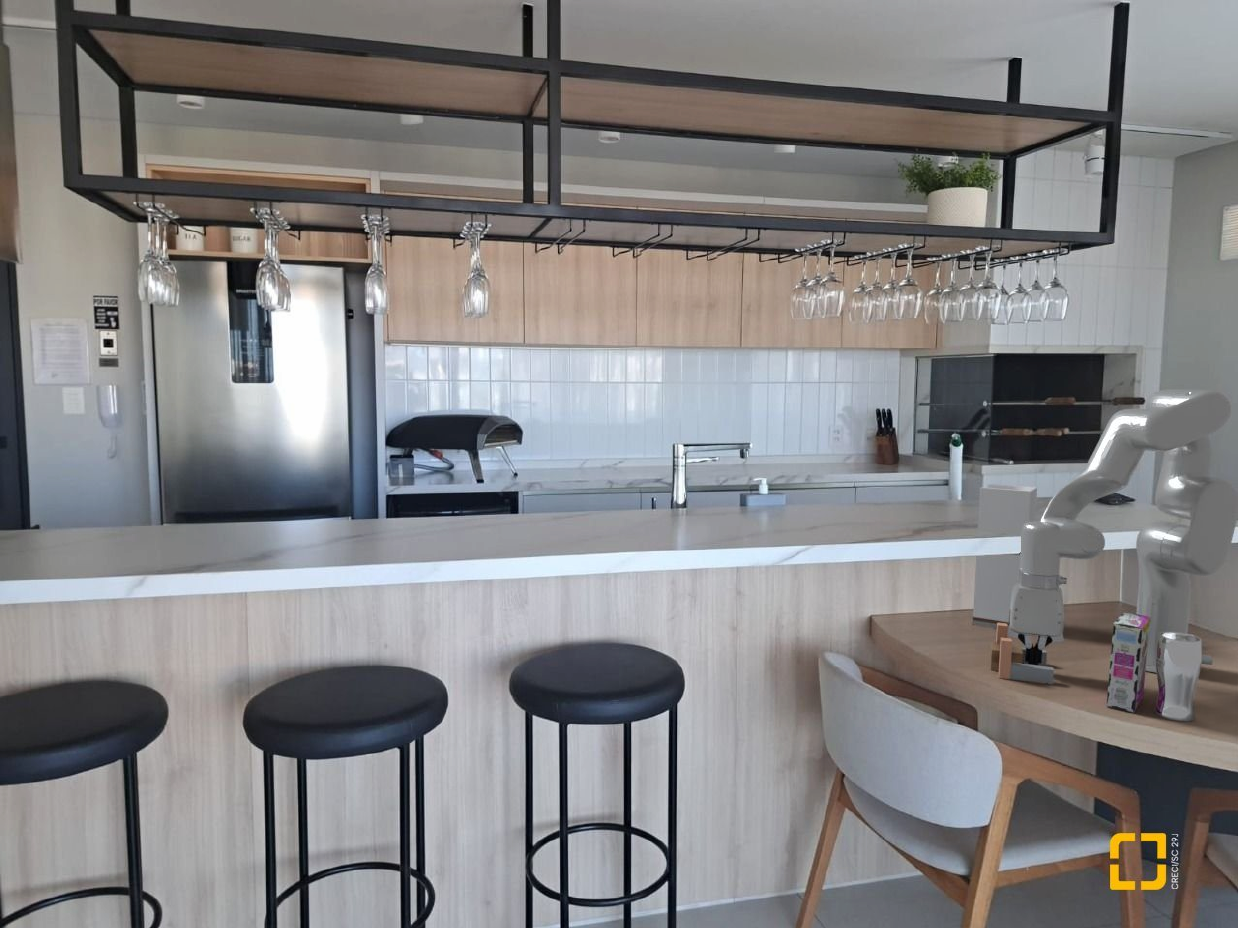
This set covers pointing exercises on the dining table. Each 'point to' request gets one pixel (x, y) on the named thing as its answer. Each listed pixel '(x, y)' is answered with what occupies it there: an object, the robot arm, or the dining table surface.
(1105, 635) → the dining table surface
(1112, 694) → the milk carton
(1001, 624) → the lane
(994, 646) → the walnut block
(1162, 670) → the beer glass
